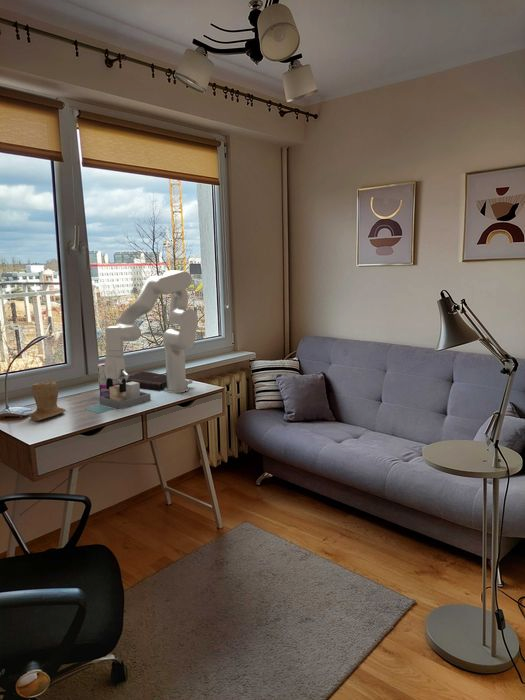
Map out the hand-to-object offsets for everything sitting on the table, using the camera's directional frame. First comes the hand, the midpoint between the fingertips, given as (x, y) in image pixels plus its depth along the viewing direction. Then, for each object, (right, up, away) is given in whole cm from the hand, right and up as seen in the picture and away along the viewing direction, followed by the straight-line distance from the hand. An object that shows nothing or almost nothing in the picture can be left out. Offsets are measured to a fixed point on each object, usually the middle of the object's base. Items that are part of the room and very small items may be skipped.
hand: (116, 390), depth 227 cm
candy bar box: (-7, -4, +16) cm, 18 cm away
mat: (-6, -8, -6) cm, 12 cm away
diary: (+8, -1, +36) cm, 37 cm away
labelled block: (+1, -6, +2) cm, 7 cm away
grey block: (+5, -5, +8) cm, 11 cm away
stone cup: (-26, -10, -14) cm, 31 cm away
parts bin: (+3, -6, +5) cm, 8 cm away
